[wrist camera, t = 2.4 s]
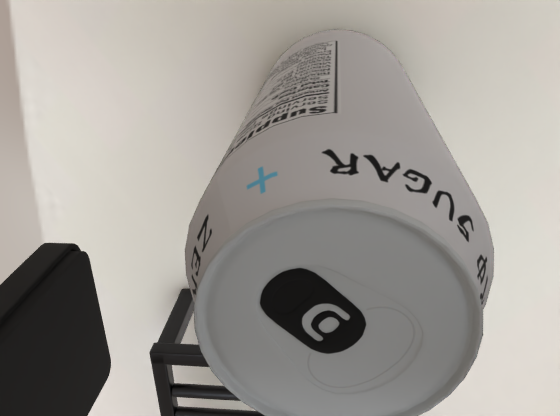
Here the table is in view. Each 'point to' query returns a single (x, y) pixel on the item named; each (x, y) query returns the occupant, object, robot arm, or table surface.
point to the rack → (186, 355)
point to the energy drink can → (339, 244)
